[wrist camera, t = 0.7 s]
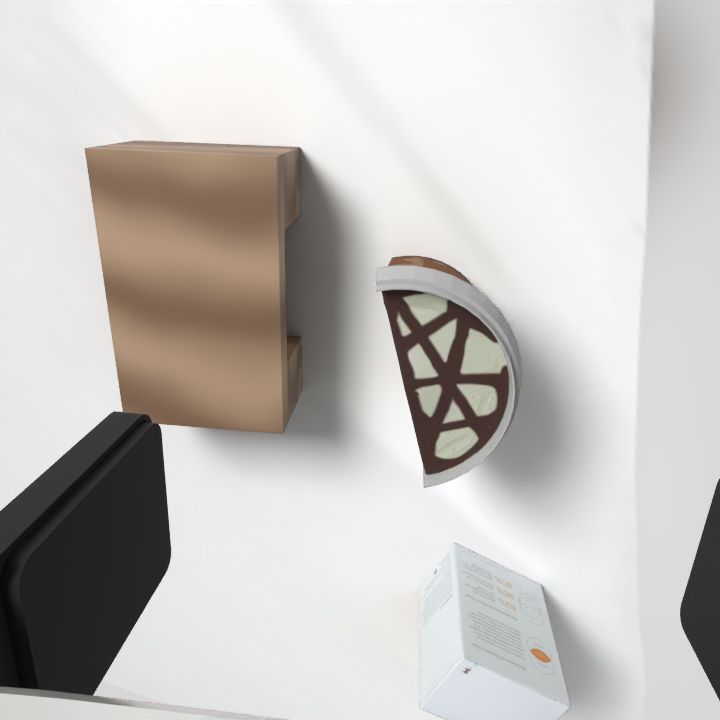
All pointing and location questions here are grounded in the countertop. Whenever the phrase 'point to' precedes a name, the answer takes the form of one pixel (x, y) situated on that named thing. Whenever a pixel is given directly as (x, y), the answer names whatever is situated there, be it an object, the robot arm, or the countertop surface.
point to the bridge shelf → (199, 279)
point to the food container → (450, 363)
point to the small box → (486, 644)
